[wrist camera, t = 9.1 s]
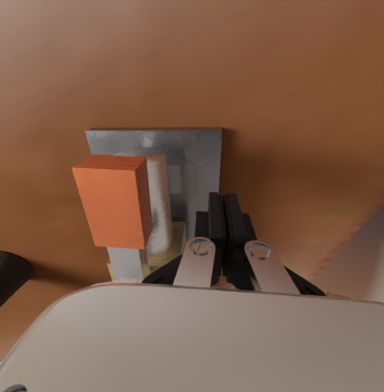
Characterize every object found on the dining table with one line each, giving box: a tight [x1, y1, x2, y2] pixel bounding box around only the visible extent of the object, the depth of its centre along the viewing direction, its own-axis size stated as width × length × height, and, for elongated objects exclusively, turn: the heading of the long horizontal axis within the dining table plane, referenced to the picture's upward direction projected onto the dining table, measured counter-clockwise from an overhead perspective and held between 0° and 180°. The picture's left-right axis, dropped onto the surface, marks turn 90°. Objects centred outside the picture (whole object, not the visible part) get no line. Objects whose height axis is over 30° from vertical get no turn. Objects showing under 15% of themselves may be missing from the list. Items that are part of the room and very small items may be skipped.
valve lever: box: [72, 154, 153, 281], centre depth 14 cm, size 14×3×3 cm, turn 178°
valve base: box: [85, 128, 222, 288], centre depth 23 cm, size 26×14×10 cm, turn 1°
